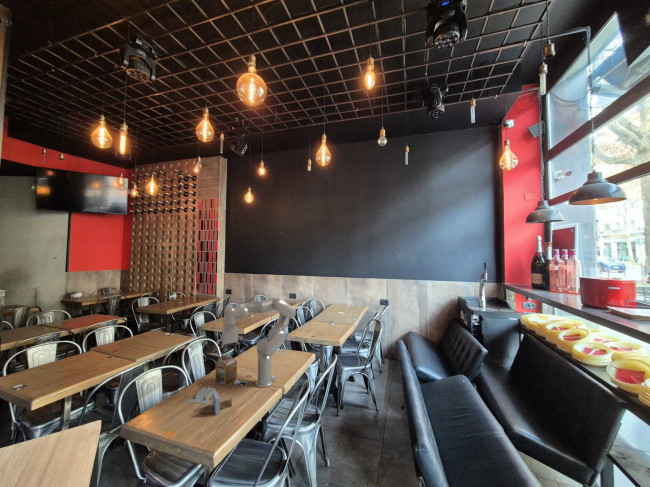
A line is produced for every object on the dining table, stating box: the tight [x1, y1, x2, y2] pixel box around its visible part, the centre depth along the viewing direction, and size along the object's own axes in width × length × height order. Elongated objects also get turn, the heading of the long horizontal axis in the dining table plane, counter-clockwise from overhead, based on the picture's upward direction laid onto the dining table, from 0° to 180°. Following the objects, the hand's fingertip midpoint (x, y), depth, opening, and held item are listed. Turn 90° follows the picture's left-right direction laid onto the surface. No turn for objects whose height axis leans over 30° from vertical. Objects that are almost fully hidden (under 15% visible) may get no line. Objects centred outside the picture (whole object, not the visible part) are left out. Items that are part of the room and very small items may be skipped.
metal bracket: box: [187, 386, 217, 405], centre depth 171 cm, size 14×6×15 cm
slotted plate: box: [212, 390, 221, 416], centre depth 157 cm, size 10×2×9 cm, turn 32°
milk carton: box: [214, 353, 238, 387], centre depth 195 cm, size 11×11×19 cm
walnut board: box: [198, 398, 233, 417], centre depth 157 cm, size 18×1×4 cm, turn 122°
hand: (229, 351), depth 177 cm, fingers open, 9 cm apart
